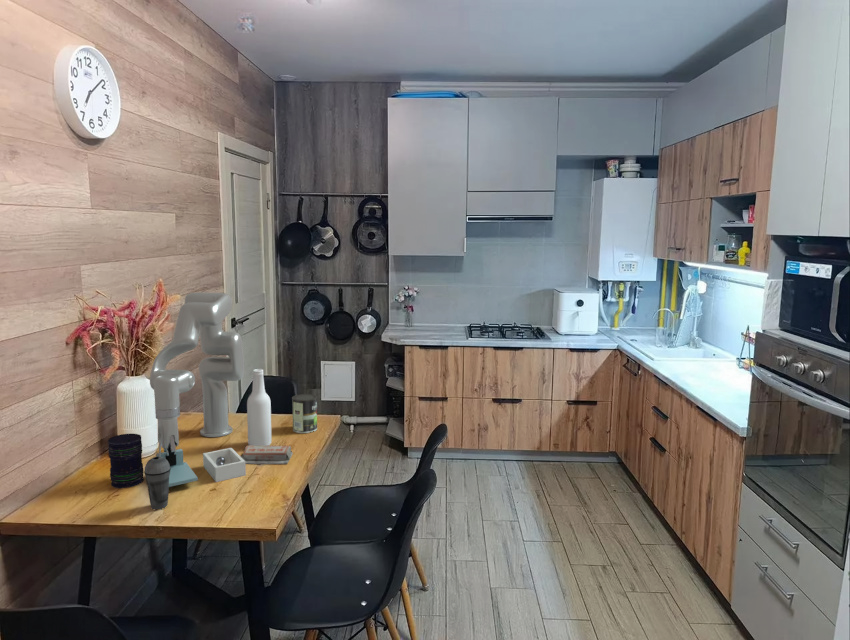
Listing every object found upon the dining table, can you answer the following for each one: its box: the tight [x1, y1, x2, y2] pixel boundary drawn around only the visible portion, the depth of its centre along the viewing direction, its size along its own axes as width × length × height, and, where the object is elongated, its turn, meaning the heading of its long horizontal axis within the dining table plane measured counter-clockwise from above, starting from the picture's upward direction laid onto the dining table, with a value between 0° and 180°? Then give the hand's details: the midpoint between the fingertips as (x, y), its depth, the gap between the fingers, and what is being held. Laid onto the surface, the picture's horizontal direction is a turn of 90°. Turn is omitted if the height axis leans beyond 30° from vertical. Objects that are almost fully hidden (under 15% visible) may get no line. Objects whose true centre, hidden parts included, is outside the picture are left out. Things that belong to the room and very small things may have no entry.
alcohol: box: [246, 368, 272, 446], centre depth 224 cm, size 9×9×30 cm
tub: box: [202, 447, 247, 483], centre depth 201 cm, size 15×10×5 cm, turn 36°
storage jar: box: [107, 433, 145, 489], centre depth 190 cm, size 10×10×15 cm
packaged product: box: [240, 444, 293, 465], centre depth 213 cm, size 18×5×10 cm
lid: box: [155, 448, 199, 488], centre depth 191 cm, size 15×10×6 cm
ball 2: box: [216, 461, 224, 466], centre depth 200 cm, size 3×3×3 cm
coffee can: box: [291, 393, 318, 434], centre depth 244 cm, size 10×10×14 cm
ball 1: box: [216, 457, 225, 463], centre depth 204 cm, size 3×3×3 cm
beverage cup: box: [143, 442, 171, 511], centre depth 174 cm, size 7×7×20 cm
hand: (170, 464), depth 197 cm, fingers closed on lid
